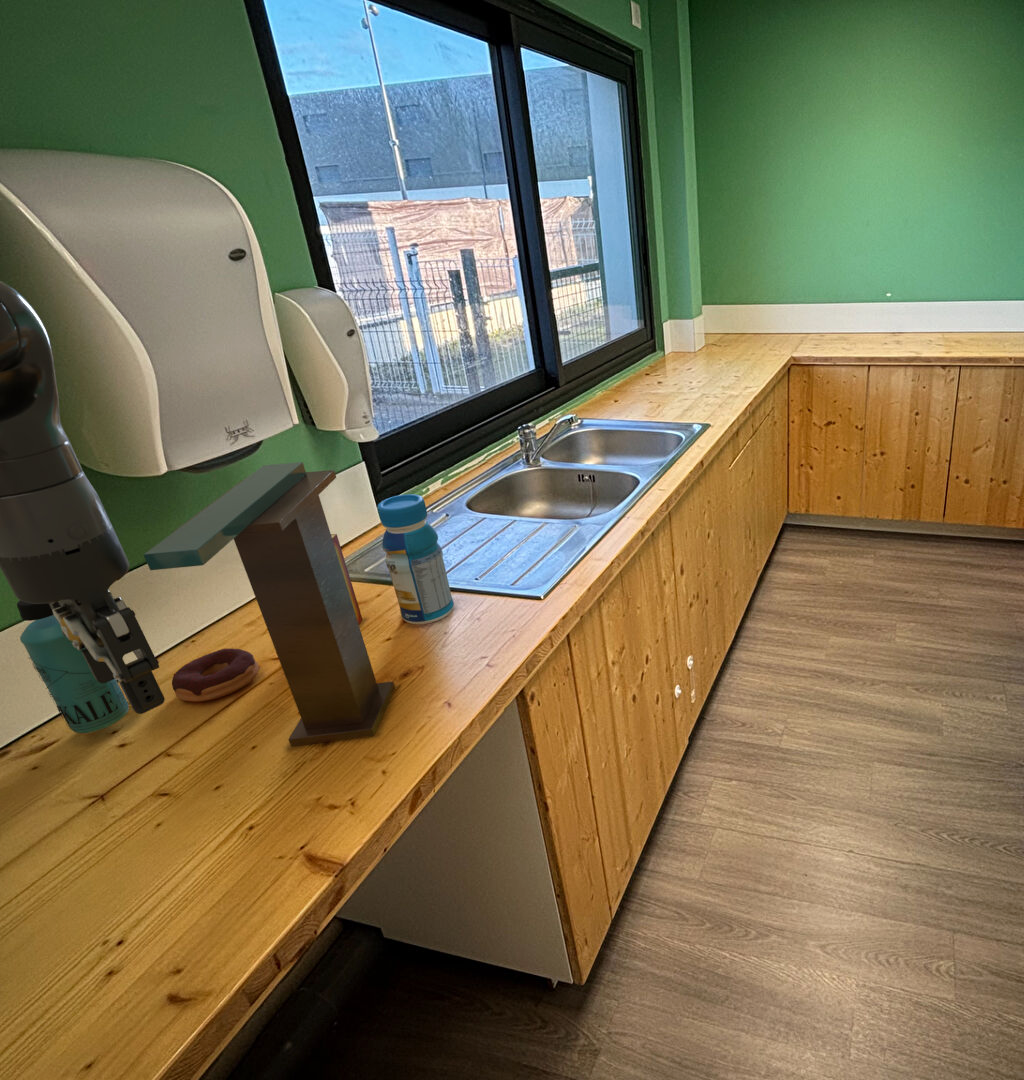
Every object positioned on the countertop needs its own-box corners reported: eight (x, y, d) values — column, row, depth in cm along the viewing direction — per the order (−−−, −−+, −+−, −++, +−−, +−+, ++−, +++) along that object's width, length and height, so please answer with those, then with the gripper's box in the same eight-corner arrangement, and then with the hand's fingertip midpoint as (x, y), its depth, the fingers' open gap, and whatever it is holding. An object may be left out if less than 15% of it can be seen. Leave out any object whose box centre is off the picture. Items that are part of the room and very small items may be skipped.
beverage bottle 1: (112, 708, 96) (46, 580, 87) (148, 715, 94) (85, 586, 86) (61, 739, 90) (-15, 607, 82) (98, 748, 89) (25, 613, 80)
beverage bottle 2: (452, 622, 113) (424, 508, 104) (396, 630, 111) (364, 515, 103) (458, 596, 120) (433, 488, 112) (406, 603, 119) (377, 494, 110)
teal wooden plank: (267, 477, 83) (263, 465, 82) (306, 474, 84) (302, 461, 83) (149, 570, 62) (142, 554, 61) (203, 565, 62) (197, 549, 61)
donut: (260, 656, 106) (251, 634, 104) (262, 689, 99) (253, 666, 97) (180, 680, 101) (169, 657, 100) (176, 716, 94) (164, 693, 92)
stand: (322, 692, 97) (246, 476, 84) (397, 683, 99) (334, 469, 85) (273, 775, 83) (172, 531, 69) (361, 764, 84) (279, 522, 70)
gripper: (-35, 533, 58) (53, 690, 65) (21, 572, 51) (113, 744, 58) (76, 502, 64) (146, 650, 71) (141, 534, 57) (211, 695, 64)
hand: (131, 692), depth 64 cm, fingers open, 8 cm apart
